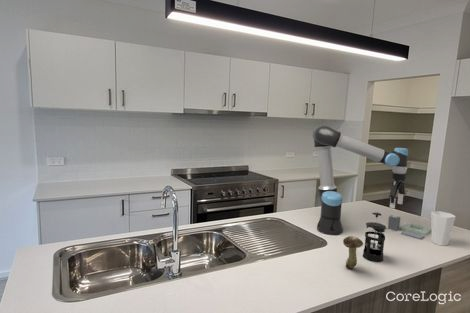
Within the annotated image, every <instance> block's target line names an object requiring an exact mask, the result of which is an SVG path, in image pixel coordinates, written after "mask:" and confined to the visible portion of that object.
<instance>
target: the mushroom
mask: <svg viewBox="0 0 470 313" xmlns="http://www.w3.org/2000/svg"><path fill="white" fill-rule="evenodd" d="M342 242H343V245H344V246H345V247H346V248H348V257H347V259H346V260H345V268H347V269H349V270H353V269H354V268H355V267H356V266H357V265H358V259H357V249H358V248H361V247H363V246H364V242H363V240H361V238H359V237H357V236H353V235H349V236H346V237H345V238H343V239H342Z"/></svg>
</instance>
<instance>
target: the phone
mask: <svg viewBox="0 0 470 313" xmlns="http://www.w3.org/2000/svg"><path fill="white" fill-rule="evenodd" d="M400 235H404V236H406V237H410V238H413V239H418V240H420V241H422V240H423V239H424V238H425V237H426V236H424V235H420V234H416V233H412V232H409V231H405V230H402V231H401V232H400Z"/></svg>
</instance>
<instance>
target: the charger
mask: <svg viewBox="0 0 470 313" xmlns="http://www.w3.org/2000/svg"><path fill="white" fill-rule="evenodd" d="M400 224H401V216H396V215H392V214H391V215H389V216H388V223H387V229H388V230H390V229H391V231H395V232H397V231H398V230H400V226H401V225H400Z"/></svg>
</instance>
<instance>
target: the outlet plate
mask: <svg viewBox="0 0 470 313" xmlns="http://www.w3.org/2000/svg"><path fill="white" fill-rule="evenodd" d="M399 230H402V231H408V232H411V233H415V234H418V235H422V236H425V237H426V236H428V235H429V234H430V233H432V230H431V227H430V226H426V225H422V224H417V223H413V222H409V221H406V222H405V223H404V224H403V225H400V226H399Z"/></svg>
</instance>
